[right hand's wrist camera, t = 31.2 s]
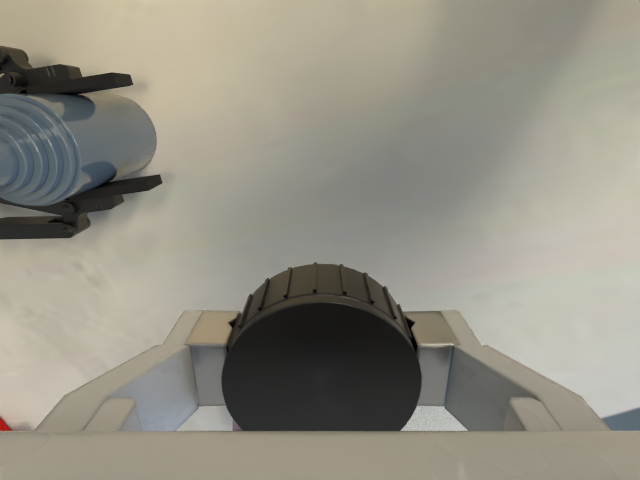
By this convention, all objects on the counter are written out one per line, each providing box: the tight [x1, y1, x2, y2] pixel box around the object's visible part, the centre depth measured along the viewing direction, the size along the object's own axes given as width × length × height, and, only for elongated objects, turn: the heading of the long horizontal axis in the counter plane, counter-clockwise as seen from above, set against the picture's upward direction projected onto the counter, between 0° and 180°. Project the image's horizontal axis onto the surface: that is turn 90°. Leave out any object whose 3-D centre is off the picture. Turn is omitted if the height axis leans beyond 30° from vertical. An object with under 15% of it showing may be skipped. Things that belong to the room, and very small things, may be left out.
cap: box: [221, 262, 422, 431], centre depth 9 cm, size 5×5×2 cm
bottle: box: [0, 93, 156, 206], centre depth 27 cm, size 7×7×18 cm
